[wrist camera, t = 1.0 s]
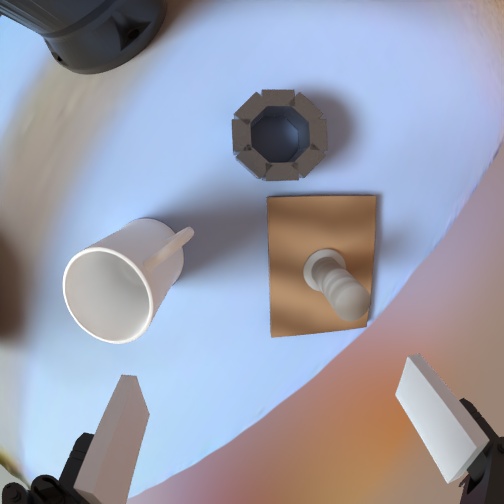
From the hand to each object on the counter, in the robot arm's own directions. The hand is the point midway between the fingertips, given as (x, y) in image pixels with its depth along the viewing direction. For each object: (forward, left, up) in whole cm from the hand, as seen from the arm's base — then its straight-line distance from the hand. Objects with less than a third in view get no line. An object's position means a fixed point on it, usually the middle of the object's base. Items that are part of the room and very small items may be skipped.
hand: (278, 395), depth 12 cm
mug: (-2, -10, -21) cm, 23 cm away
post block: (+1, +8, -21) cm, 22 cm away
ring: (-13, +3, -21) cm, 25 cm away
